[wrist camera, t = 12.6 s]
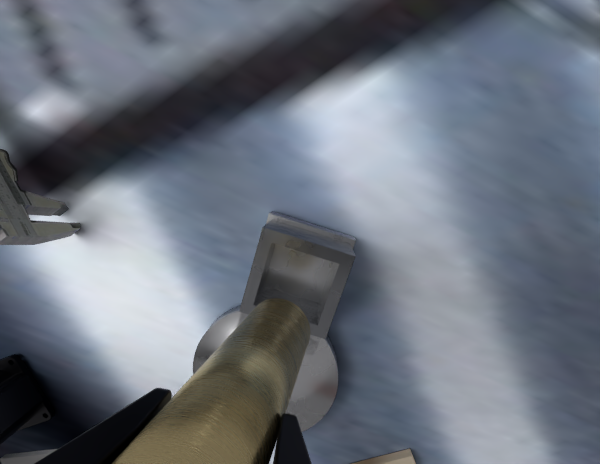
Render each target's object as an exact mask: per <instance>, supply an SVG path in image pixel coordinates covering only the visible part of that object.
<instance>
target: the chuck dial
mask: <svg viewBox="0 0 600 464" xmlns="http://www.w3.org/2000/svg"><path fill="white" fill-rule="evenodd" d="M355 242H356V240H355V238H354V237H353V236H350V235H347V234H344V233H340V232H337V231H334V230H331V229H328V228H325V227H321V226H318V225H315V224H312V223H309V222H305V221H302V220H299V219H296V218H293V217H290V216H286V215H283V214H280V213H277V212H274V211H272V212H270V213H269V215H268V219H267V222H266V225H265V226H264V227H263V229H262V232H261V236H260V239H259V243H258V246H257V250H256V253H255V257H254V261H253V264H252V268H251V271H250V275H249V278H248V282H247V285H246V289H245V293H244V296H243V300H242V303H241V305H240V306H237V307H234V308H232V309H230V310H229V311H227V312H225V313H224V314H222V315H221V316H220V317H219V318H217V319H216V321H215V322H214V323H213V324H212V325H211V326H210V328H209V329H208V330H207V332H206V333H205V334H204V336H203V337H202V339H201V340H200V342H199V344H198V346H197V349H196V352H195V356H194V361H193V375H194V374H195V372H196V371H197V370H198V369H199V368H200V367H201V366H202V365H203V364H204V363H205V362H206V360H207V359H208V358H209V357H210V356H211V355H212V354H213V353H214V352H215V351H216V350H217V349H218V347H219V346H220V345H221V344H222V343H223V342H224V341H225V340H226V339H227V338H228V337H229V335H230V334H231V333H232V332H233V331H234V330H235V329H236V328H237V327H238V326H239V325H240V324H241V322H242V321H243V320H244V319H245V318H246V317H247V316H248V315H249V314H250V313H251V312H252V310H253V309H254V308H255V307H256V306H257V305H258V304H260V303H261V302H263V301H265V300H268V299H273V298H280V299H285V300H288V301H290V302H292V303H294V304H296V305H297V306H298V307H299V308H300V309H301V310H302V311H303V312H304V313H305V315H306V317H307V319H308V321H309V324H310V331H311V334H310V340H309V343H308V346H307V349H306V352H305V355H304V358H303V361H302V364H301V367H300V370H299V373H298V376H297V380H296V383H295V386H294V389H293V392H292V395H291V398H290V401H289V404H288V407H287V410H286V413H287V414H292V415H295V416H296V417H297V419H298V423H299V426H300V429H301V432H303V431H305V430H307V429H309V428H311V427H312V426H314V425H315V424H316V423H318V422H319V421H320V420H321V419H322V418H323V417H324V416H325V415H326V413H327V412H328V410H329V409H330V407H331V406H332V404H333V401H334V399H335V396H336V393H337V387H338V368H337V359H336V354H335V351H334V348H333V345H332V343H331V341H330V339H329V338H328V336H327V333H328V331H329V328H330V325H331V322H332V320H333V317H334V314H335V311H336V309H337V306H338V303H339V300H340V298H341V295H342V292H343V289H344V287H345V284H346V281H347V278H348V276H349V273H350V270H351V267H352V265H353V262H354V259H355V254H354V252H353V248H354V245H355ZM277 438H278V437H277Z"/></svg>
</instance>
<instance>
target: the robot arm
mask: <svg viewBox="0 0 600 464" xmlns="http://www.w3.org/2000/svg"><path fill="white" fill-rule="evenodd" d="M171 396H172V394H171V391H170V390H167V389H162V388H156V389H154V390H152V391H151V392H149V393H147V394H146V395H144V396H143V397H141V398H139V399H138V400H136V401H134V402H133V403H131V404H130V405H128V406H126V407H125V408H123V409H122V410H120V411H118V412H117V413H115V414H113V415H112V416H110V417H109V418H107V419H105V420H104V421H102V422H101V423H99V424H97V425H96V426H94V427H92V428H91V429H89V430H88V431H86V432H84V433H83V434H81V435H80V436H78V437H76V438H75V439H73V440H71V441H70V442H68V443H67V444H65V445H63V446H62V447H60V448H59V449H57V450H55V451H54V452H52V453H50V454H49V455H47V456H46V457H44V458H42V459H41V460H39V461H38V462H36V463H34V464H112V463H113V462H114V460H115V459H116V458H117V457H118V456H119V455H120V454H121V453H122V452H123V451H124V450H125V449H126V447H127V446H128V445H129V444H130V443H131V442H132V441H133V440H134V439H135V438H136V437H137V435H138V434H139V433H140V432H141V431H142V430H143V429H144V428H145V427H146V426H147V425H148V424H149V422H150V421H151V420H152V419H153V418H154V417H155V416H156V415H157V414H158V413H159V412H160V410H161V409H162V408H163V407H164V406H165V405H166V404H167V403H168V402H169V401H170V400H171ZM54 415H55V411H54V409H53V408H52V406H51V404H50V403H49V401H48V400H47V398H46V397H45V395H44V393H43V392H42V390H41V389H40V387H39V386H38V384H37V383H36V381H35V379H34V378H33V376H32V375H31V373H30V372H29V370H28V368H27V367H26V365H25V364H24V362H23V361H22V359H21V358H20V356H18V355H16V354H14V355H11V356H8V357H5V358H3V359H0V444H1V443H3V442H4V441H5V440H6V439H7V438H9V437H10V436H11V435H12V434H13V433H15V432H16V431H18V430H21V429H24V428H27V427H30V426H33V425H36V424H39V423H42V422H45V421H48V420H50V419H51V418H52V417H53V416H54ZM273 464H311V461H310V458H309V454H308V451H307V448H306V445H305V442H304V438H303V435H302V432H301V429H300V426H299V423H298V419H297V417H296V416H295V415H292V414H287V413H283V414H282V415H281V421H280V427H279V432H278V438H277V444H276V450H275V455H274V461H273Z"/></svg>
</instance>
